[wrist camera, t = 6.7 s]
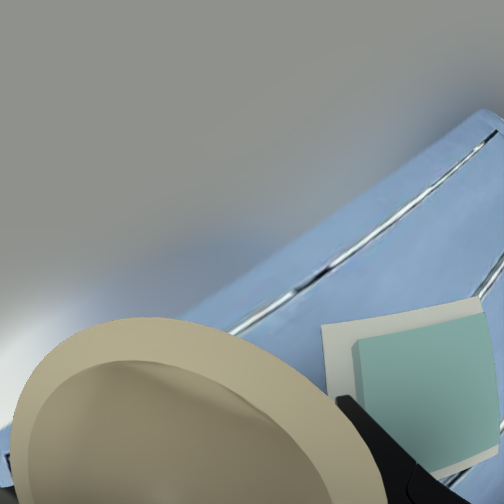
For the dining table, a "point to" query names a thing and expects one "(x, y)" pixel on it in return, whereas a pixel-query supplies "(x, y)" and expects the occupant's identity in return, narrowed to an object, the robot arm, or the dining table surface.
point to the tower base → (422, 381)
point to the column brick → (181, 424)
